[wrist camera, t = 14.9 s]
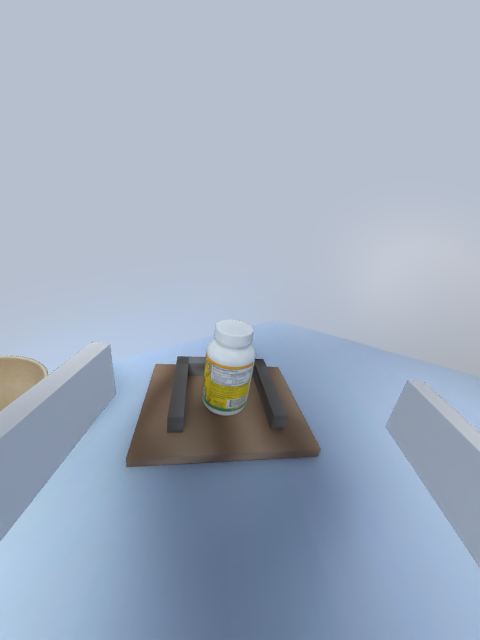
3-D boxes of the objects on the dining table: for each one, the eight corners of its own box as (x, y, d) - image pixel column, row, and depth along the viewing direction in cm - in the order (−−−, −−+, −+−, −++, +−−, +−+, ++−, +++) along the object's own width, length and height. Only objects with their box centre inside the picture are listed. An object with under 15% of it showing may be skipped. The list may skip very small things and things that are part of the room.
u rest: (276, 372, 36) (280, 356, 35) (317, 456, 23) (326, 434, 22) (155, 370, 32) (155, 351, 31) (126, 466, 20) (124, 441, 19)
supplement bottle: (238, 423, 24) (253, 345, 21) (193, 407, 26) (199, 330, 22) (251, 392, 29) (264, 324, 26) (212, 380, 30) (220, 313, 27)
